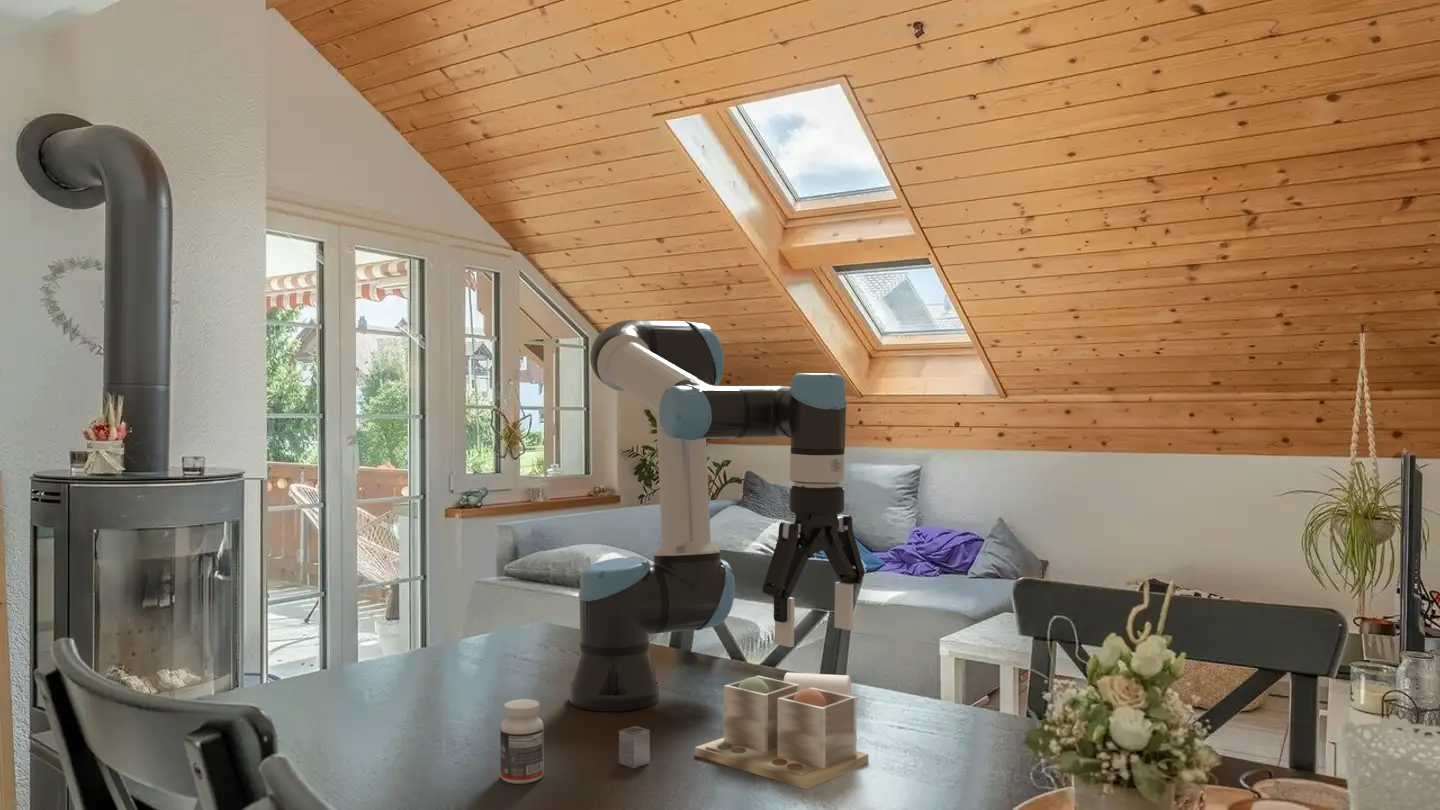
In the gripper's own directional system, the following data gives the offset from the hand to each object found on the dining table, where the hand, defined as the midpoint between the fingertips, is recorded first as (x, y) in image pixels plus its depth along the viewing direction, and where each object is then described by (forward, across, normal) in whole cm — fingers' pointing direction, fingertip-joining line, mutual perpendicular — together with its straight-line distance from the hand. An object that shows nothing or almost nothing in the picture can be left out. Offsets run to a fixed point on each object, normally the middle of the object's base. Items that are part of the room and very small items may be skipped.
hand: (814, 636), depth 152 cm
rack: (+18, -2, +4) cm, 18 cm away
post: (+18, -17, +18) cm, 31 cm away
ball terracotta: (+10, -1, 0) cm, 10 cm away
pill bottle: (+18, -31, +25) cm, 44 cm away
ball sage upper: (+10, -1, +10) cm, 14 cm away
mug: (+18, +16, +11) cm, 27 cm away
